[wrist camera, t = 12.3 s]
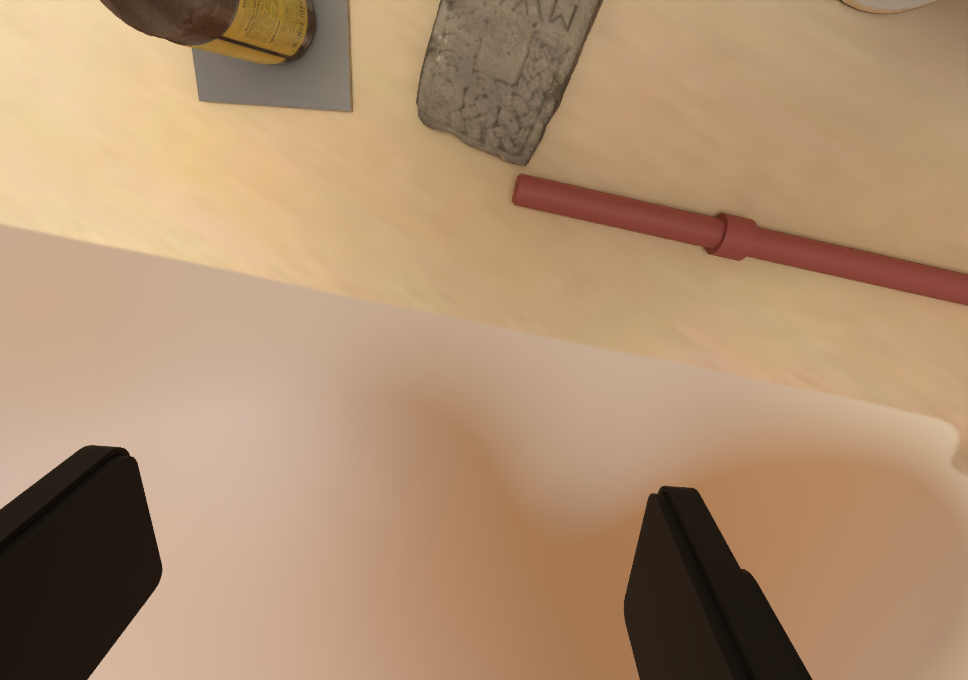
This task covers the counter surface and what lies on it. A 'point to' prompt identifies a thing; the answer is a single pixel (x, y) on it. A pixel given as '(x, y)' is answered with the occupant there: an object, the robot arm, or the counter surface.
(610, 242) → the counter surface
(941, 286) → the rolling pin
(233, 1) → the sauce bottle
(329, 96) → the coaster
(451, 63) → the stone slab
